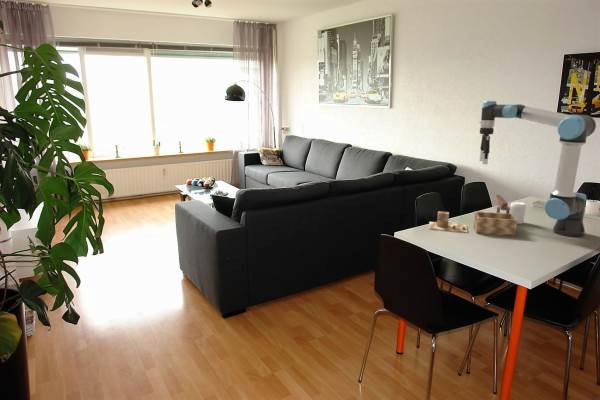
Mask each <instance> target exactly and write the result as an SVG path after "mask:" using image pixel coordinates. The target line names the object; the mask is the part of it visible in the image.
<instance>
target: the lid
mask: <svg viewBox="0 0 600 400" xmlns="http://www.w3.org/2000/svg"><path fill="white" fill-rule="evenodd" d="M449 217H450V212H449V211H437V219H436V221H429V222H428V223H429V224H428V230H429V229H432V230H431V231H439V230H444V231H443V232H451V231H455V232H454V233H462V232H463V233H465V234H467V233H468V227H467V224H461V223H449V220H450V218H449Z"/></svg>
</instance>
